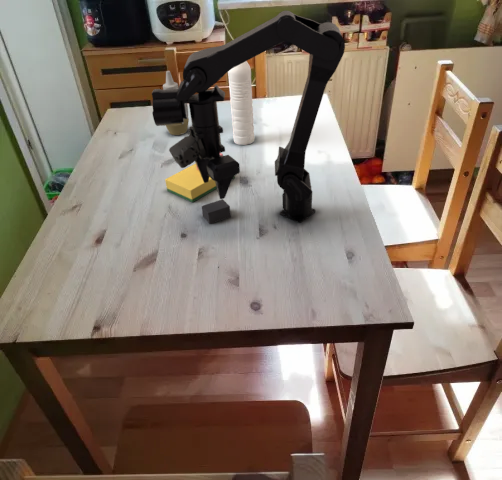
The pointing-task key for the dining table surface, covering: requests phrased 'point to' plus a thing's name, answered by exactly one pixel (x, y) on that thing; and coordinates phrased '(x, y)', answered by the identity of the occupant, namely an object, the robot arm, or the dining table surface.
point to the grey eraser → (216, 211)
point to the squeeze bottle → (183, 128)
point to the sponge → (189, 184)
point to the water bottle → (241, 104)
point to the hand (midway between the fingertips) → (214, 190)
